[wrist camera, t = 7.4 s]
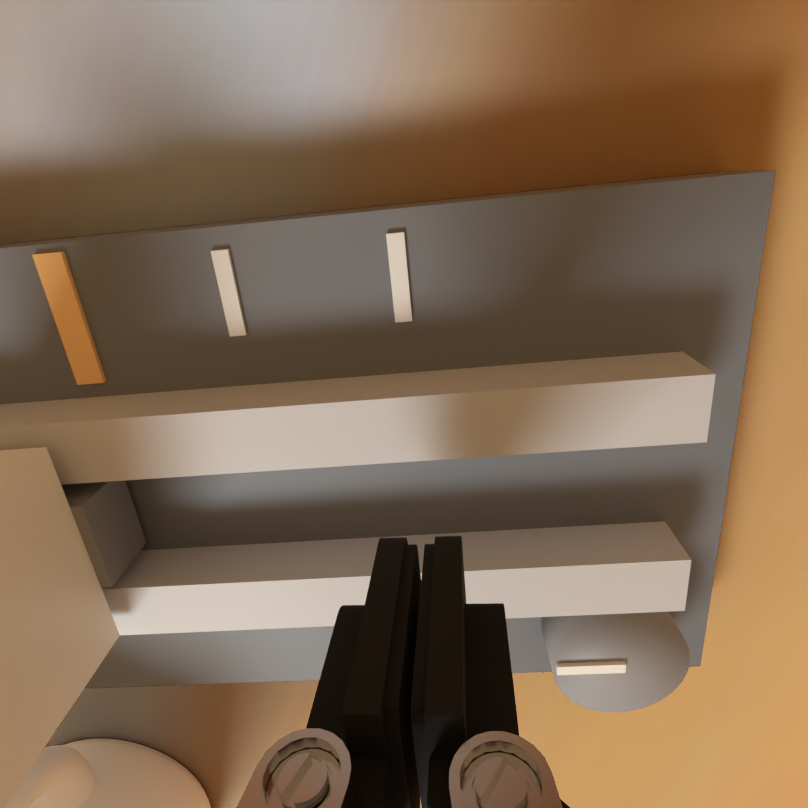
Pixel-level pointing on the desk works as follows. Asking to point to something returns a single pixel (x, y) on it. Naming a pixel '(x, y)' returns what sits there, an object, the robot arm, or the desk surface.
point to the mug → (107, 778)
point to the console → (404, 418)
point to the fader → (53, 597)
